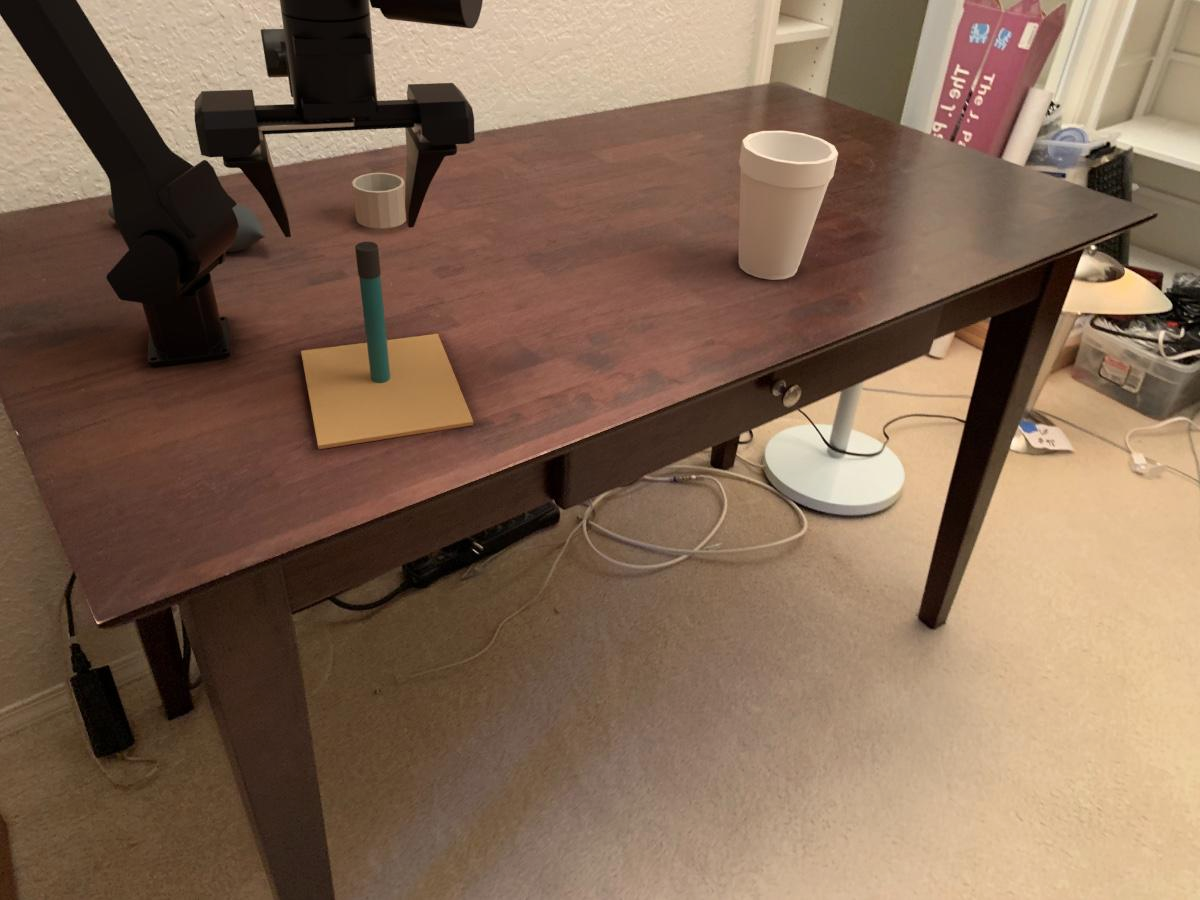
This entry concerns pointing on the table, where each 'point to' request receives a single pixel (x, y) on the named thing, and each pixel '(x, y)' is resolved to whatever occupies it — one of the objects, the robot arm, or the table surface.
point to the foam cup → (780, 199)
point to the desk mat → (382, 392)
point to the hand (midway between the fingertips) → (350, 230)
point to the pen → (373, 310)
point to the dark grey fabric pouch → (246, 232)
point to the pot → (379, 200)
